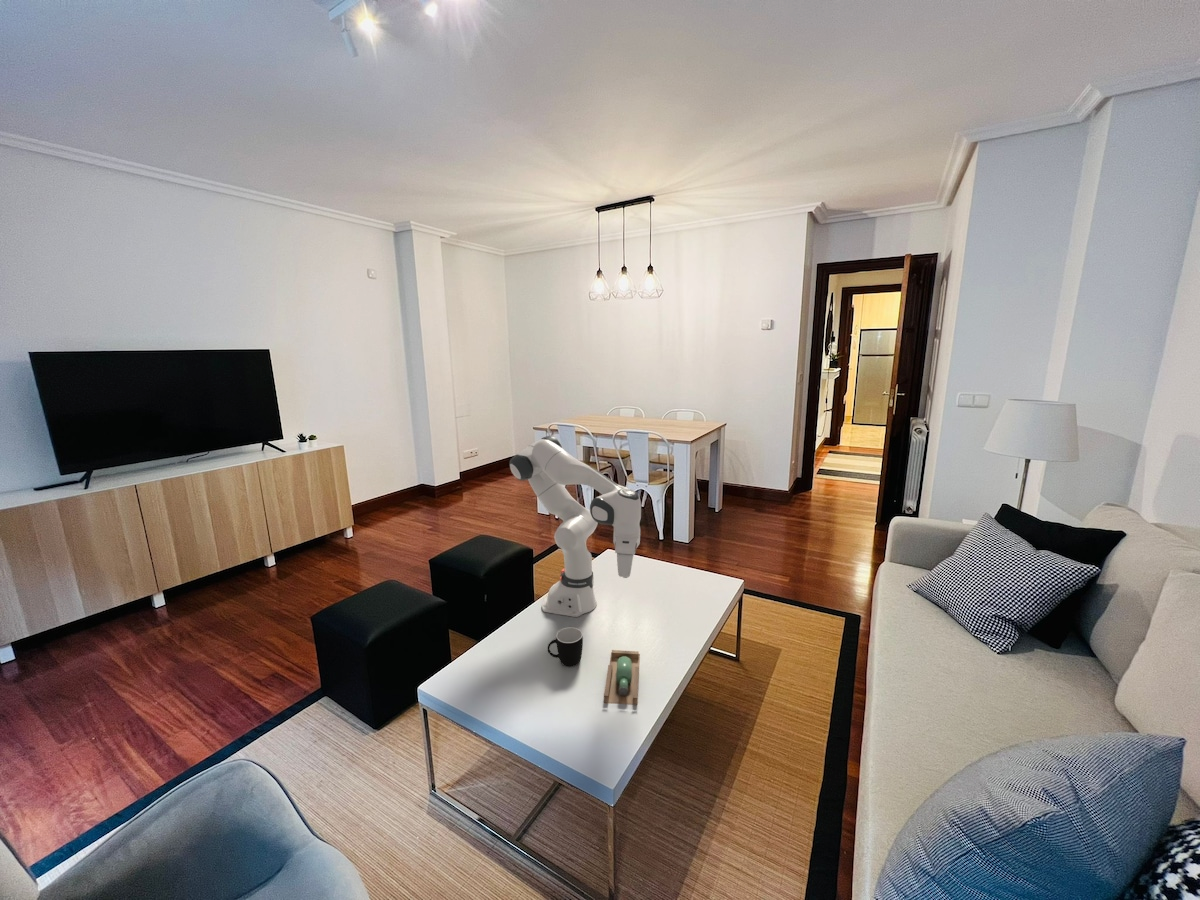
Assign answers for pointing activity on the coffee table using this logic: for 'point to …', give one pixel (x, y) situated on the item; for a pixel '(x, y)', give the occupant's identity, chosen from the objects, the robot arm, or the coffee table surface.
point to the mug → (568, 646)
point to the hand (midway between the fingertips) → (625, 575)
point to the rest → (611, 684)
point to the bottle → (624, 674)
